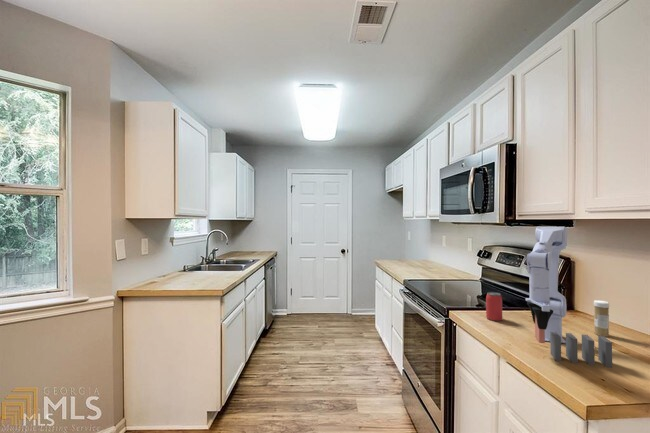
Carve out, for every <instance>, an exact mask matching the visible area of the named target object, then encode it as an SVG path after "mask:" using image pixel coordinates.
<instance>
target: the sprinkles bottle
mask: <svg viewBox="0 0 650 433" xmlns="http://www.w3.org/2000/svg"><path fill="white" fill-rule="evenodd" d="M593 307H594V314H593V315H594V318H593V319H594V322H593V323H594V334H595V335H596V336H603V337H605V338H607V337H610V333H609V332H610V331H609V330H610V314H609V312H610V309H609V308H610V303H609V301H606V300H601V299H600V300H599V299H597V300H593Z"/></svg>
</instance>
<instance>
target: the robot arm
mask: <svg viewBox="0 0 650 433" xmlns="http://www.w3.org/2000/svg"><path fill="white" fill-rule="evenodd" d="M535 240H536V243H535V244H534V246H533V247H532V248H533V249H532V251H531V252H530V253H527V255H526V265H527V273H528V275H529V276H528V278H529V281H528V282H529V297H525V301H526V304H527V305H528V307H529V310H530V312H531V317H532V321H533V324H535V315H536V319H537V325H538V328H539V329H545V342H550V331H551V332H556V333H557V334H558V335H559V336H560V337H561V344H566V339H564V338H563V325H562V324H563V323H562V322H563V321H562V320H563V318H565V317H566V316H567V299H566V296H564V295H563V294H562V293H560V292H559V290H558V289H559V288H558V287H559V264H560V261H559V260H560V255H561V251H563V250H566V249H567V245H568V244H567V243H568V229H567V227H566V226H540V225H539V226H537V227H536V228H535Z"/></svg>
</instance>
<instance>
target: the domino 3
mask: <svg viewBox="0 0 650 433" xmlns="http://www.w3.org/2000/svg"><path fill="white" fill-rule="evenodd" d="M581 358H582V360H584V361H585V363H586V364H588V366H595V363H596V361H595V340H594V339H593V338H592V337H591V336H589V334H581Z"/></svg>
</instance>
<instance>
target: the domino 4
mask: <svg viewBox="0 0 650 433" xmlns="http://www.w3.org/2000/svg"><path fill="white" fill-rule="evenodd" d="M597 338H598V346H597V349H598V350H597V351H598V356H597V357H598V361H599V362H600V363H601V364H603V366H604V367H605V368H613V342H612V341H610V340H609V339H608V338H607V337H604V336H599V335H597Z"/></svg>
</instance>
